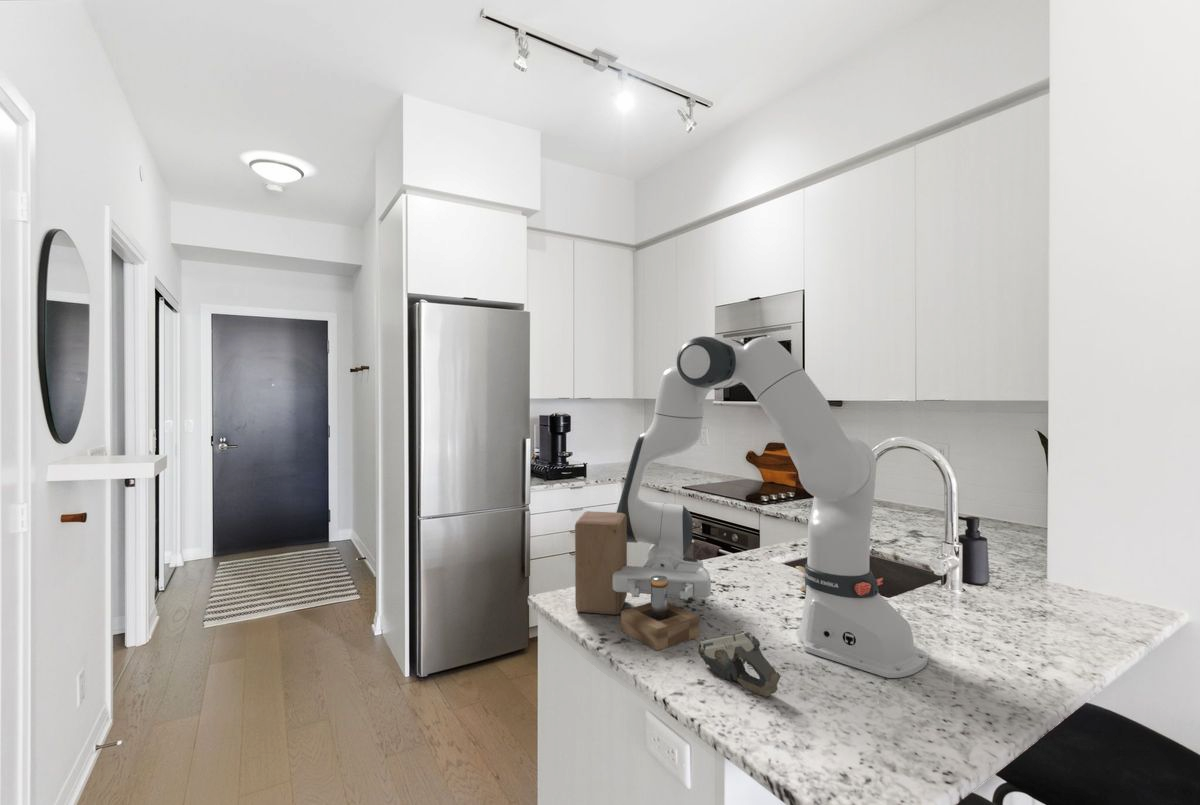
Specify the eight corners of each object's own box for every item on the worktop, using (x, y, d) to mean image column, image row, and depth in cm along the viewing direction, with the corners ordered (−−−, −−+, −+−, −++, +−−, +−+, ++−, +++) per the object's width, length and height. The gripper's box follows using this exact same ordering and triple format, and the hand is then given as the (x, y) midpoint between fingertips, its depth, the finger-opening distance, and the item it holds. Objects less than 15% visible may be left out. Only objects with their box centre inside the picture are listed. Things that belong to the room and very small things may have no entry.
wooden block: (620, 617, 122) (620, 524, 121) (574, 613, 124) (573, 521, 123) (627, 598, 132) (627, 512, 130) (584, 594, 134) (584, 509, 132)
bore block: (698, 636, 113) (698, 616, 113) (657, 650, 106) (657, 629, 106) (661, 618, 122) (661, 599, 121) (621, 630, 115) (621, 610, 115)
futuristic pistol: (719, 697, 100) (700, 637, 103) (786, 690, 90) (763, 624, 93) (709, 701, 99) (690, 640, 102) (777, 696, 88) (753, 628, 91)
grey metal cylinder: (670, 632, 115) (670, 577, 115) (663, 638, 112) (663, 581, 112) (655, 628, 116) (655, 574, 116) (647, 634, 114) (647, 578, 113)
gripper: (616, 555, 128) (606, 575, 115) (709, 560, 125) (711, 581, 111) (616, 584, 128) (606, 607, 115) (709, 589, 125) (711, 614, 111)
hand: (659, 594), depth 113 cm, fingers open, 8 cm apart
